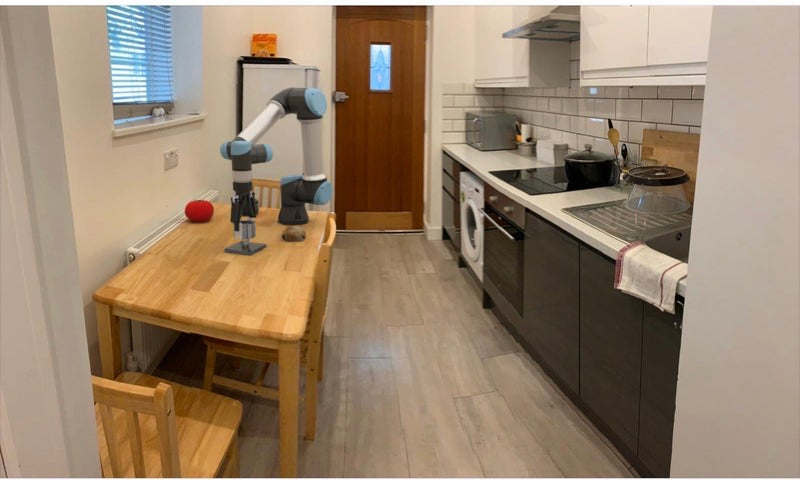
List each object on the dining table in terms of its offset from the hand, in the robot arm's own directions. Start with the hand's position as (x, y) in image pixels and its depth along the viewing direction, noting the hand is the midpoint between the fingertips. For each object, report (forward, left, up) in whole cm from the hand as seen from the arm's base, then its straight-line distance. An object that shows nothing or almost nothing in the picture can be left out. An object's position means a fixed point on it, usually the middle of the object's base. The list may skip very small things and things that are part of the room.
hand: (244, 235), depth 221 cm
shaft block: (0, 0, -6) cm, 6 cm away
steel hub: (0, 0, 0) cm, 0 cm away
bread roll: (-22, +11, -6) cm, 25 cm away
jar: (-55, -32, -6) cm, 64 cm away
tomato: (-34, -46, -6) cm, 57 cm away
